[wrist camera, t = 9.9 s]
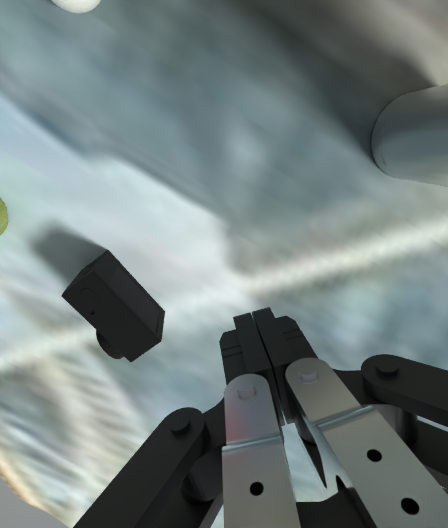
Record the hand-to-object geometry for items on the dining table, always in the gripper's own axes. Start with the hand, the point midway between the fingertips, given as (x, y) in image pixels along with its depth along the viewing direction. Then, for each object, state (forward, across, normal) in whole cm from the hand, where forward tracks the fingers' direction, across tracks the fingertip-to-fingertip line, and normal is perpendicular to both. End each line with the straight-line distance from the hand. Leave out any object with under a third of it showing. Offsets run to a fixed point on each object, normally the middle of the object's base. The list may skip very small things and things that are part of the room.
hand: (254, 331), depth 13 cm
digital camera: (+27, +13, +7) cm, 31 cm away
